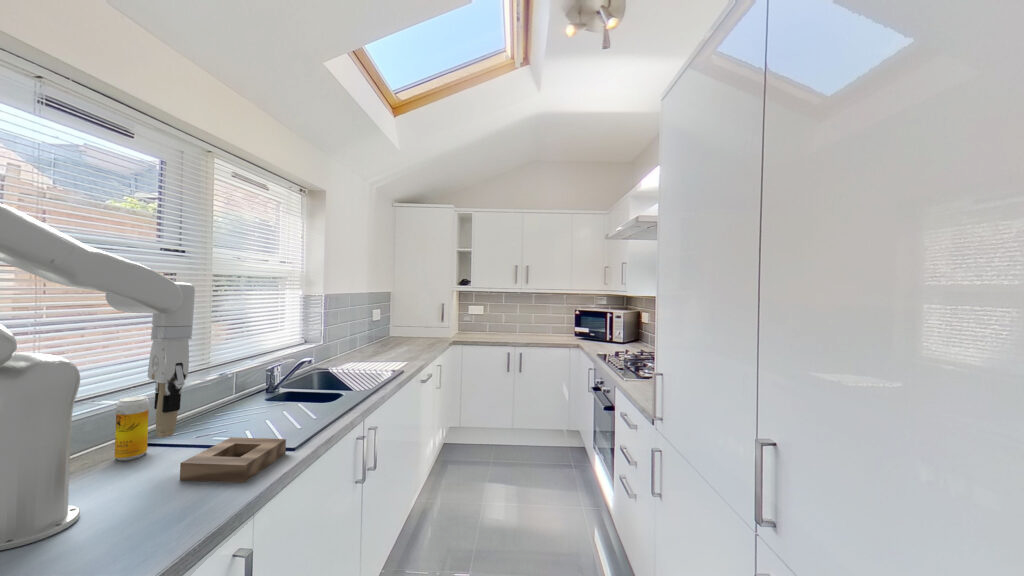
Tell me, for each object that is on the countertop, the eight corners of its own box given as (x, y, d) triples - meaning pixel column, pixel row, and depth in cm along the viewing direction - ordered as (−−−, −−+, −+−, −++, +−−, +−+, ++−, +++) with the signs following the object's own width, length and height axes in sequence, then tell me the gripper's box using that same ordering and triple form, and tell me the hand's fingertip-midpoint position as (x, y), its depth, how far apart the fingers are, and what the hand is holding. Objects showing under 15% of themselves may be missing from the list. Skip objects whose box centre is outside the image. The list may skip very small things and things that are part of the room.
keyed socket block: (244, 482, 90) (245, 465, 90) (179, 480, 90) (180, 462, 90) (285, 453, 106) (286, 439, 106) (230, 452, 106) (230, 437, 106)
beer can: (108, 459, 100) (110, 400, 100) (136, 450, 106) (138, 394, 106) (125, 462, 99) (128, 402, 99) (153, 453, 105) (155, 396, 105)
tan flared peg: (176, 438, 93) (180, 374, 94) (142, 440, 91) (147, 374, 92) (186, 431, 98) (190, 370, 98) (154, 433, 96) (158, 371, 96)
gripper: (138, 331, 97) (133, 407, 96) (167, 336, 88) (161, 419, 87) (176, 330, 103) (171, 401, 102) (206, 334, 95) (201, 412, 94)
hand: (167, 409), depth 95 cm, fingers closed on tan flared peg, 3 cm apart
